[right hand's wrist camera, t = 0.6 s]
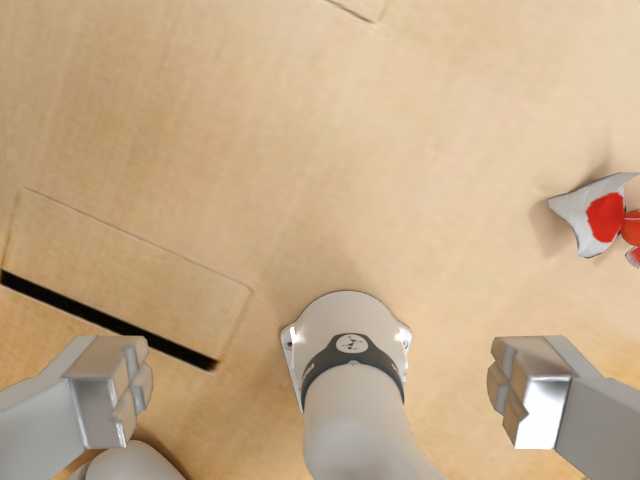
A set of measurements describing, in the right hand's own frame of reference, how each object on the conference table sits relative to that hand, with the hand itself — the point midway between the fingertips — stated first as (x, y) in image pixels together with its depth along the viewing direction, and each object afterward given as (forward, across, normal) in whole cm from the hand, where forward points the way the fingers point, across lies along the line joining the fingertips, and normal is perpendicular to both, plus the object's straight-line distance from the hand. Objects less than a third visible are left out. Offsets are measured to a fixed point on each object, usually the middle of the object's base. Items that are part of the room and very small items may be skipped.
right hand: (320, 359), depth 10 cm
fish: (+46, +36, -10) cm, 59 cm away
